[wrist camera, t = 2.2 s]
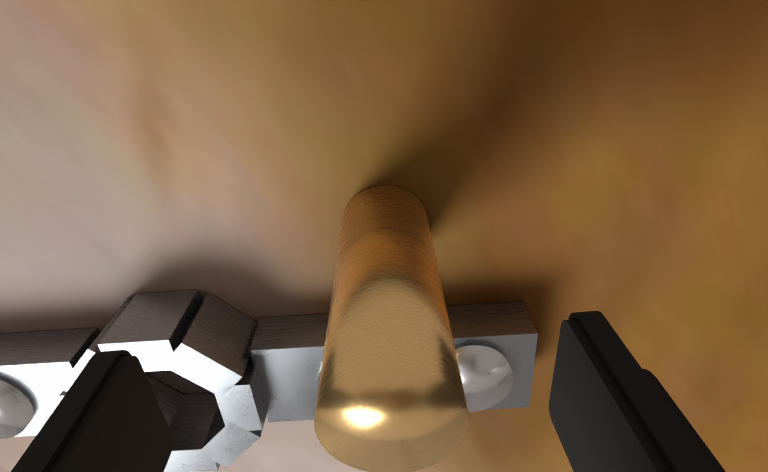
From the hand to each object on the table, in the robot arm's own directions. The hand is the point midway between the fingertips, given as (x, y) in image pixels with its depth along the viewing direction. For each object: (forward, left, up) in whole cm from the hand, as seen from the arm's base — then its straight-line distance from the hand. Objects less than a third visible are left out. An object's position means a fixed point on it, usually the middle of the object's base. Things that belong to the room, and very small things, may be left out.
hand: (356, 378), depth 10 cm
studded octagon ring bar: (+8, +6, -8) cm, 13 cm away
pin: (-1, 0, -8) cm, 8 cm away
